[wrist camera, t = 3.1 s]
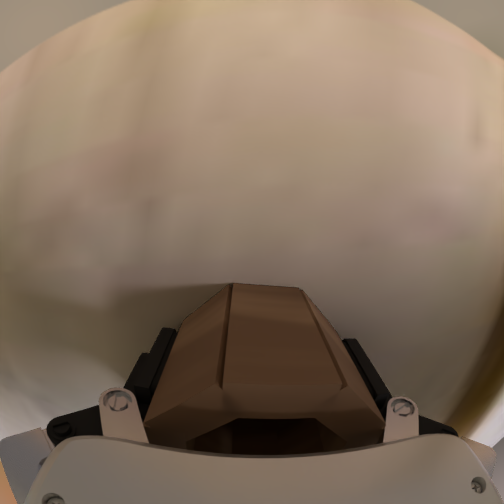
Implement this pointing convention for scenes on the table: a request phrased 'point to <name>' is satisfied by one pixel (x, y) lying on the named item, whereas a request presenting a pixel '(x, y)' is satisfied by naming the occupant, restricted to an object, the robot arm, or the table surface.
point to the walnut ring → (261, 380)
